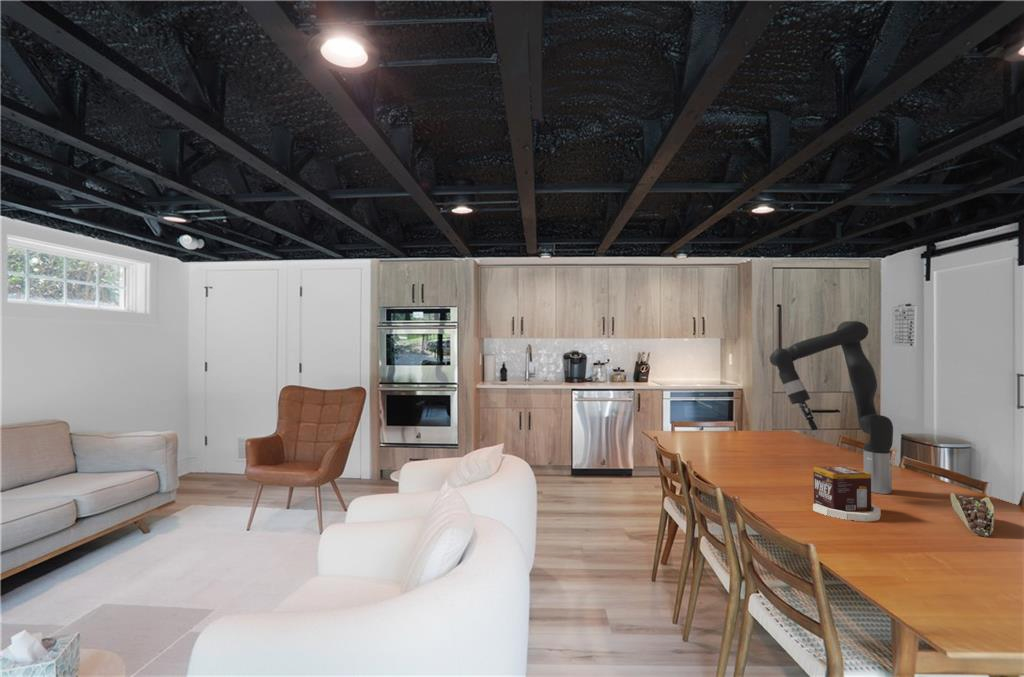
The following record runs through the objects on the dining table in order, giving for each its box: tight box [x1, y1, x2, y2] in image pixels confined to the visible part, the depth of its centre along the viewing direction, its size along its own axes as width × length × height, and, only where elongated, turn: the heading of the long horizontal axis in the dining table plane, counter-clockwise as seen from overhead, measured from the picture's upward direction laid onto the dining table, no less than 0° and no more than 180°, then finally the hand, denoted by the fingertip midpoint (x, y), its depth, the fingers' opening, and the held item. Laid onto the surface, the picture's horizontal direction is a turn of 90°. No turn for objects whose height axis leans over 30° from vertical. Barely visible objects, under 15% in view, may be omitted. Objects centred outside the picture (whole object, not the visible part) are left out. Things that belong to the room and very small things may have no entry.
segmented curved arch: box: [812, 502, 882, 523], centre depth 175 cm, size 23×14×2 cm, turn 107°
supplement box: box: [813, 466, 872, 513], centre depth 179 cm, size 10×15×16 cm
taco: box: [950, 492, 995, 538], centre depth 166 cm, size 10×27×10 cm, turn 146°
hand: (815, 429), depth 200 cm, fingers closed
